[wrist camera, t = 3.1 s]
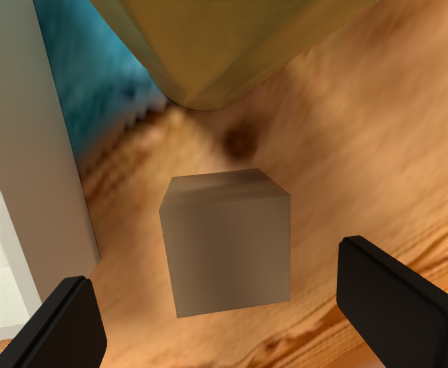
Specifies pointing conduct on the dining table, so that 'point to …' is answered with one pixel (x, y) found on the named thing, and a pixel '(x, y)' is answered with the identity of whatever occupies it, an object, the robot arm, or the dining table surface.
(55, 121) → the box
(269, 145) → the dining table surface
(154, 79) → the vase
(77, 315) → the robot arm
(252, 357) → the dining table surface
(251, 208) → the walnut cube
